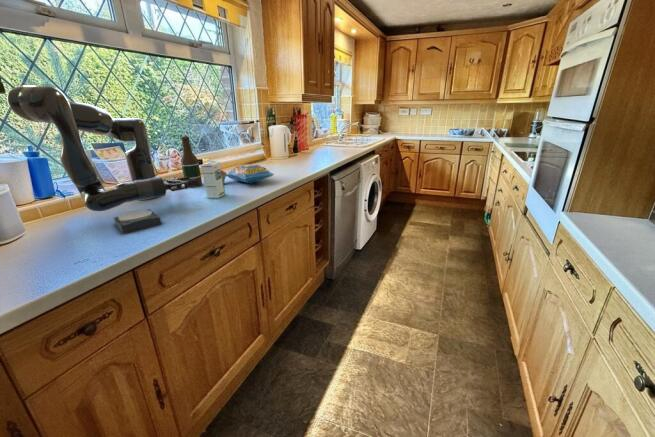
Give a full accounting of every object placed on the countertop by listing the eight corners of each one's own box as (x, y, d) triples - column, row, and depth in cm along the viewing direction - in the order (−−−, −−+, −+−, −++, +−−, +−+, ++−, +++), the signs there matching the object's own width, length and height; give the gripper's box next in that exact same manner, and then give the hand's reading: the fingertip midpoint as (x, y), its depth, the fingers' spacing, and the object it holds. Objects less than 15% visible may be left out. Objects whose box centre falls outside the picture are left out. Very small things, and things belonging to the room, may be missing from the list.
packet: (245, 189, 141) (243, 171, 138) (226, 181, 158) (223, 165, 155) (277, 183, 151) (276, 166, 148) (256, 176, 168) (254, 160, 165)
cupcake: (206, 185, 150) (202, 161, 146) (218, 181, 158) (214, 158, 154) (220, 186, 147) (216, 162, 143) (231, 182, 155) (228, 159, 151)
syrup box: (218, 198, 128) (213, 164, 123) (206, 197, 129) (200, 164, 124) (225, 194, 133) (220, 161, 128) (213, 194, 134) (208, 161, 129)
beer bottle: (205, 184, 153) (197, 135, 144) (193, 188, 146) (183, 137, 138) (194, 183, 156) (185, 135, 148) (182, 187, 149) (172, 137, 141)
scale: (115, 224, 102) (112, 215, 101) (151, 216, 109) (149, 207, 108) (123, 233, 94) (120, 223, 92) (161, 224, 101) (159, 214, 99)
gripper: (152, 181, 106) (198, 173, 117) (142, 175, 116) (185, 169, 126) (157, 201, 109) (201, 192, 119) (146, 194, 119) (188, 186, 129)
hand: (193, 180), depth 123 cm, fingers open, 8 cm apart
